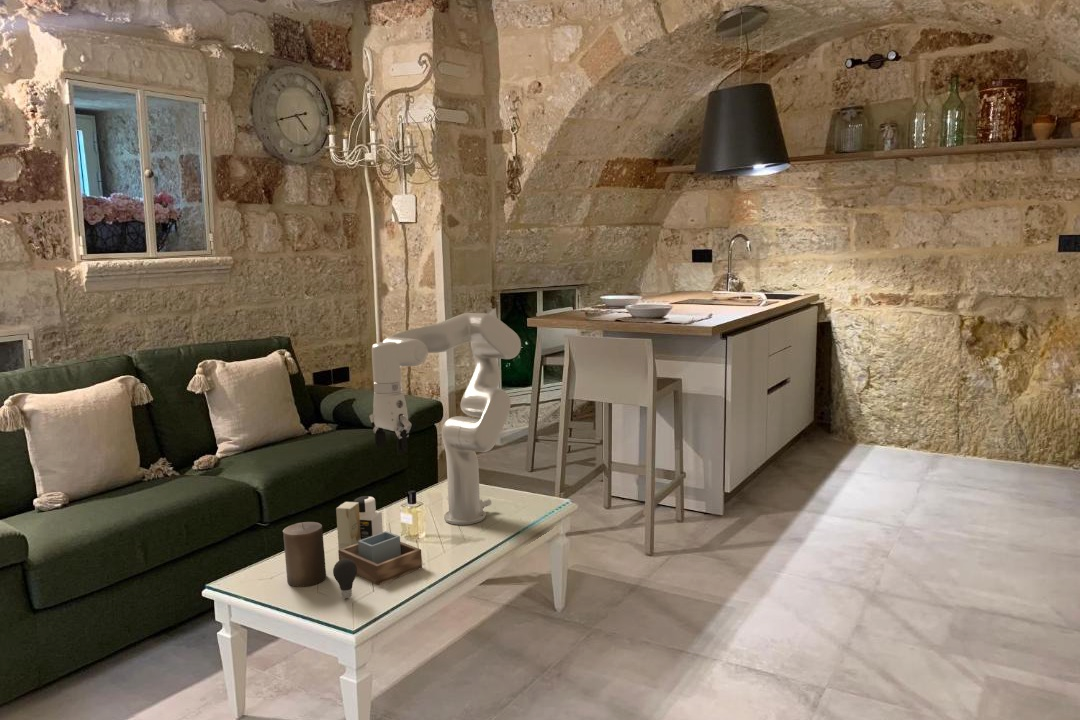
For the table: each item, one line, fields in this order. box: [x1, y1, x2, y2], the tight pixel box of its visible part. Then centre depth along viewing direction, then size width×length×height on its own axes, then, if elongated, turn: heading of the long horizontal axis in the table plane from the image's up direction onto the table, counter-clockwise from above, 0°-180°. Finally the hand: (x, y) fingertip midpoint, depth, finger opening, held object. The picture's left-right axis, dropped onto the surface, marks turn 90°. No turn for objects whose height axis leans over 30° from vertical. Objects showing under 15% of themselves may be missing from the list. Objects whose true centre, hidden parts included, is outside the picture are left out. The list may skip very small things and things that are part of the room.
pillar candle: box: [282, 521, 327, 587], centre depth 211 cm, size 10×10×15 cm
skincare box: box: [335, 501, 361, 550], centre depth 233 cm, size 6×4×12 cm
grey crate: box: [358, 530, 401, 564], centre depth 217 cm, size 9×6×7 cm, turn 137°
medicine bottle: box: [353, 495, 384, 540], centre depth 239 cm, size 7×7×12 cm
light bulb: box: [332, 559, 357, 601], centre depth 199 cm, size 6×6×10 cm
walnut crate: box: [337, 541, 423, 586], centre depth 218 cm, size 14×17×5 cm
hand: (391, 449), depth 227 cm, fingers open, 9 cm apart
